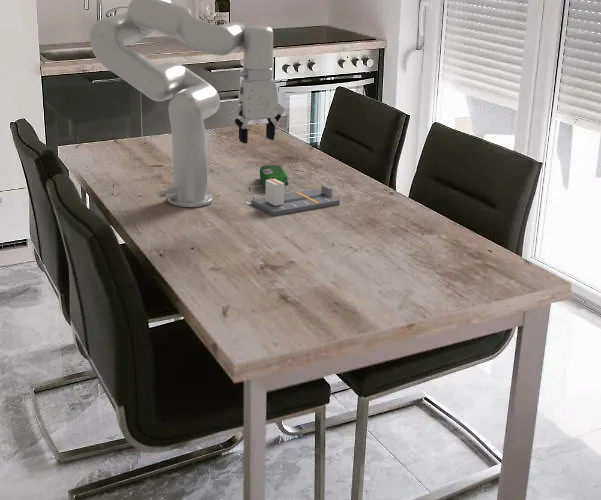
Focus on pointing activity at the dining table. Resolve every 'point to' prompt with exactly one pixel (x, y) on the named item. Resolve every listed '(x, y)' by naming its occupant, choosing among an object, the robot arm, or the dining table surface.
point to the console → (299, 201)
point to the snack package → (273, 174)
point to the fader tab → (274, 192)
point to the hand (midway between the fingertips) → (256, 140)
